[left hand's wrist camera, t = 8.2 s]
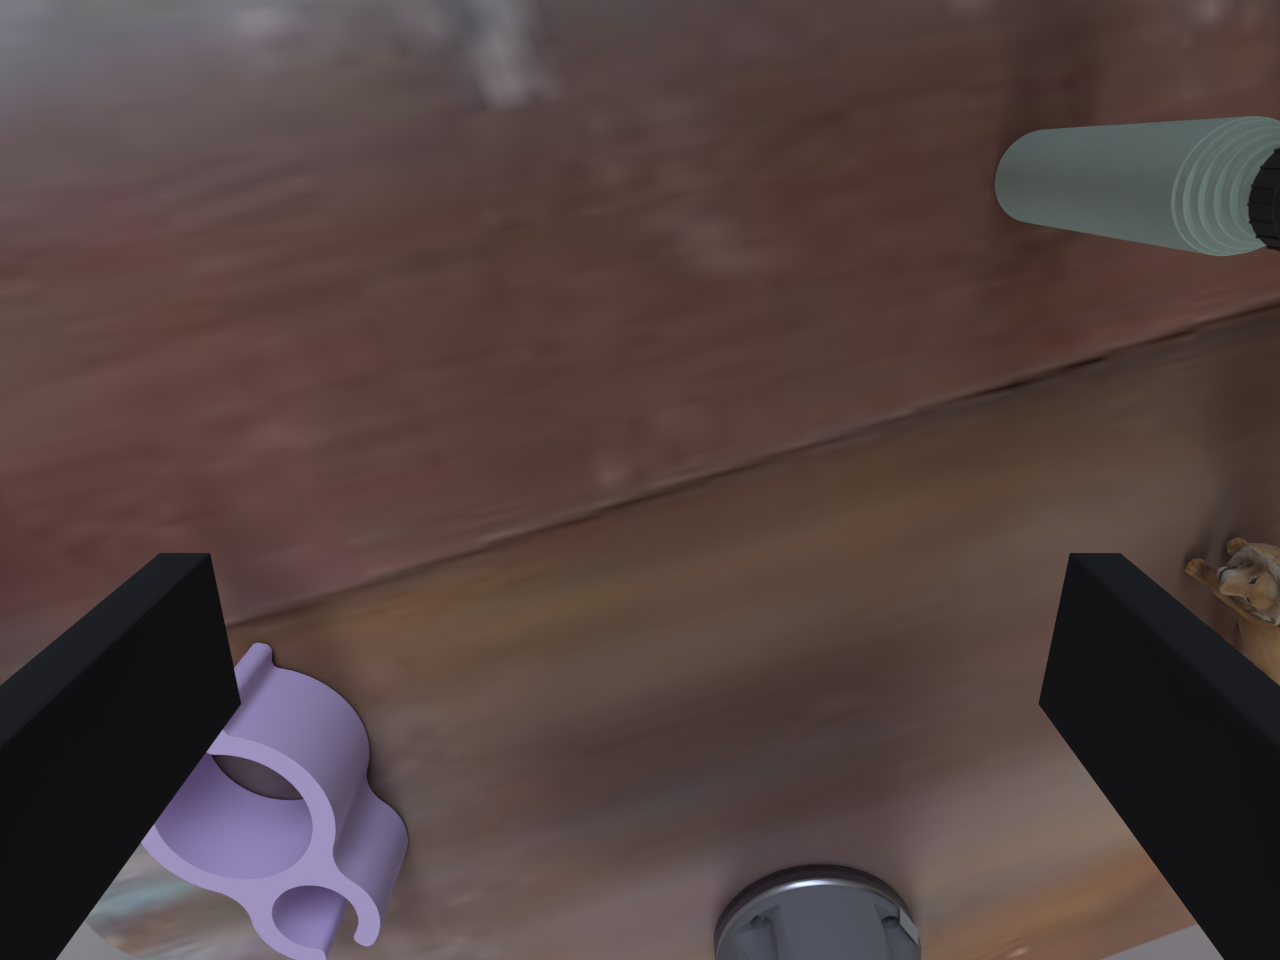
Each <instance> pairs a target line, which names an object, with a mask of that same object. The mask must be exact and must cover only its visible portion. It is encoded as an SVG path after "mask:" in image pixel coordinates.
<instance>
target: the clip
mask: <svg viewBox="0 0 1280 960" xmlns="http://www.w3.org/2000/svg"><path fill="white" fill-rule="evenodd" d="M234 671H235V676H236V680H237V685H238V690H239V695H240V700H241V705H240V707H239V708H238V709H237V711H236V712H235V713H234V715H233V716H232V718H231V719H230V720H229V722H228V723H227V724H226V726H225V727H224V729H223V730H222V731H221V733H220V734H219V735H218V737H217V738H216V740H215V741H214V742H213V744H212V745H211V746H210V748H209V749H208V751H207V752H206V753H205V755H204V756H203V758H202V759H201V760H200V762H199V763H198V764H197V766H196V767H195V769H194V770H193V771H192V773H191V774H190V775H189V777H188V778H187V780H186V781H185V782H184V784H183V785H182V786H181V788H180V789H179V791H178V792H177V793H176V795H175V796H174V797H173V799H172V800H171V802H170V803H169V804H168V806H167V807H166V808H165V810H164V811H163V813H162V814H161V815H160V817H159V818H158V820H157V821H156V822H155V824H154V825H153V826H152V828H151V829H150V831H149V832H148V833H147V835H146V836H145V837H144V839H143V840H142V842H141V843H142V844H143V846H144V847H145V848H146V850H147V851H148V852H149V853H150V854H151V855H152V856H153V857H154V858H155V859H156V860H157V861H158V862H159V863H160V864H161V865H163V866H164V867H165V868H166V869H168V870H169V871H171V872H172V873H174V874H175V875H177V876H179V877H180V878H182V879H184V880H186V881H188V882H190V883H192V884H194V885H197V886H199V887H202V888H205V889H208V890H211V891H215V892H219V893H222V894H224V895H227V896H229V897H231V898H233V899H234V900H236V901H237V902H238V903H240V904H241V905H242V906H243V907H244V908H245V909H246V911H247V912H248V914H249V915H250V918H251V920H252V923H253V925H254V928H255V929H256V931H257V933H258V934H259V935H260V937H261V938H262V939H263V940H264V941H265V942H266V943H267V944H268V945H269V946H271V947H272V948H273V949H275V950H276V951H278V952H280V953H281V954H283V955H285V956H287V957H290V958H292V959H295V960H326V959H327V956H328V954H329V951H330V948H331V946H332V943H333V941H334V938H335V936H336V933H337V931H338V928H339V925H340V923H341V920H342V918H343V915H344V913H345V910H346V907H347V905H348V902H349V901H350V903H351V904H352V905H353V906H354V908H355V910H356V912H357V915H358V920H359V923H358V926H357V929H356V932H355V934H354V940H355V941H356V942H357V943H359V944H361V945H363V946H371V945H372V944H373V943H374V942H375V940H376V938H377V936H378V934H379V931H380V928H381V925H382V922H383V919H384V916H385V913H386V910H387V907H388V904H389V901H390V898H391V895H392V892H393V889H394V886H395V883H396V880H397V877H398V874H399V871H400V868H401V865H402V862H403V859H404V856H405V853H406V850H407V846H408V835H407V831H406V828H405V825H404V823H403V821H402V820H401V818H400V817H399V815H398V814H397V813H396V812H395V811H394V810H393V809H392V808H391V807H390V806H388V805H387V804H386V803H384V802H383V801H381V800H380V799H379V798H378V797H377V796H376V795H375V794H374V793H373V792H372V790H371V789H370V787H369V784H368V781H367V769H368V764H369V756H370V749H369V742H368V737H367V734H366V731H365V728H364V726H363V724H362V722H361V720H360V718H359V717H358V715H357V714H356V712H355V711H354V710H353V708H352V707H351V706H350V705H349V704H348V703H347V702H346V700H345V699H343V698H342V697H341V696H340V695H339V694H338V693H336V692H335V691H334V690H332V689H331V688H330V687H328V686H327V685H325V684H323V683H321V682H320V681H318V680H316V679H314V678H311V677H309V676H307V675H304V674H301V673H298V672H294V671H290V670H286V669H280V668H277V667H275V666H274V665H273V663H272V649H271V647H270V646H268V645H267V644H263V643H255V644H253V645H252V646H251V647H250V649H249V650H248V651H247V652H246V654H245V655H244V656H243V658H242V659H241V660H240V661H239V663H238V664H237V665H236V666H235V668H234ZM211 754H212V755H231V756H237V757H242V758H246V759H249V760H253V761H255V762H258V763H261V764H263V765H265V766H267V767H269V768H271V769H273V770H274V771H276V772H277V773H279V774H280V775H282V776H283V777H284V778H286V779H287V780H288V781H289V782H290V783H291V784H292V785H293V786H294V787H295V788H296V789H297V790H298V791H299V793H300V794H301V795H302V797H303V798H304V799H301V800H277V799H271V798H267V797H263V796H260V795H257V794H255V793H252V792H250V791H248V790H246V789H244V788H242V787H241V786H239V785H237V784H236V783H235V782H233V781H232V780H231V779H230V778H228V777H227V776H226V775H225V774H224V773H223V772H222V771H221V769H220V768H219V767H218V765H217V764H216V763H215V761H214V759H213V757H212V755H211Z"/></svg>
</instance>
